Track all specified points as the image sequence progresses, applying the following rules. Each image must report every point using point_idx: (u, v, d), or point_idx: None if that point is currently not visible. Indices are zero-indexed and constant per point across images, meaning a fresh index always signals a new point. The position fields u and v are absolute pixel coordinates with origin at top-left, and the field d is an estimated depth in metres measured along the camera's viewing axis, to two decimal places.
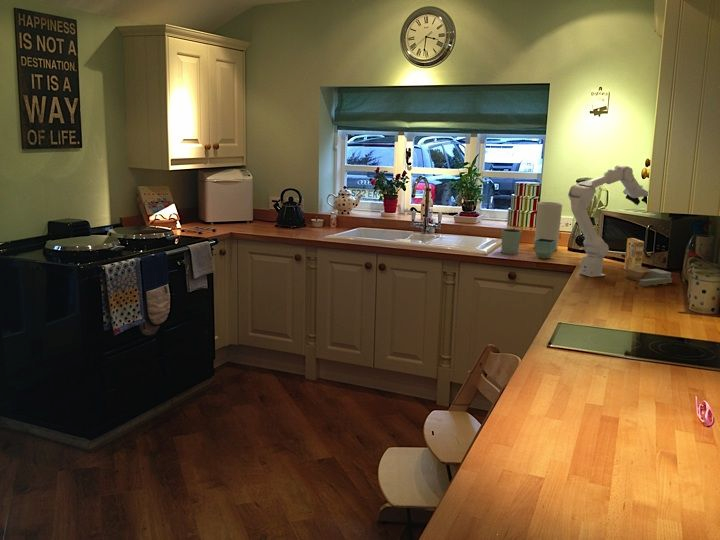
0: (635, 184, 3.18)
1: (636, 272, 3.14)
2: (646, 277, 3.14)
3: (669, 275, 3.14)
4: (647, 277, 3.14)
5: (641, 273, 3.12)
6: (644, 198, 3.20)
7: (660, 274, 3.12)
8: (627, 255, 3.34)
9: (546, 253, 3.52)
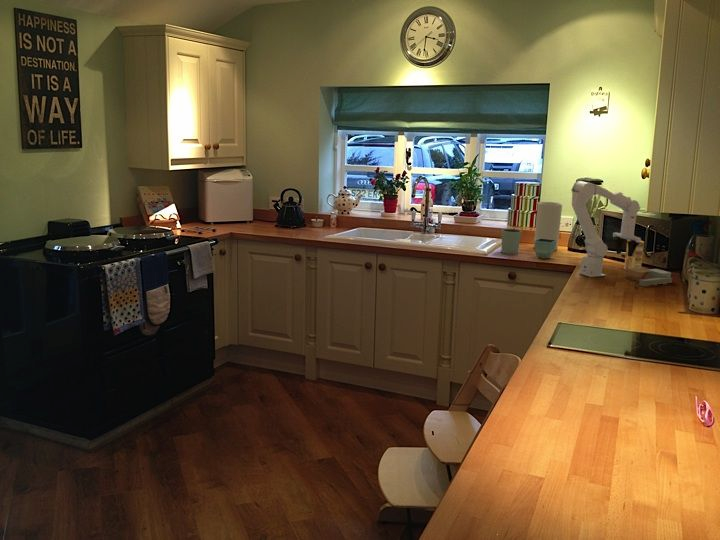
0: (631, 224, 3.17)
1: (636, 272, 3.14)
2: (646, 277, 3.14)
3: (669, 275, 3.14)
4: (647, 277, 3.14)
5: (641, 273, 3.12)
6: (631, 241, 3.17)
7: (660, 274, 3.12)
8: (627, 255, 3.34)
9: (546, 253, 3.52)
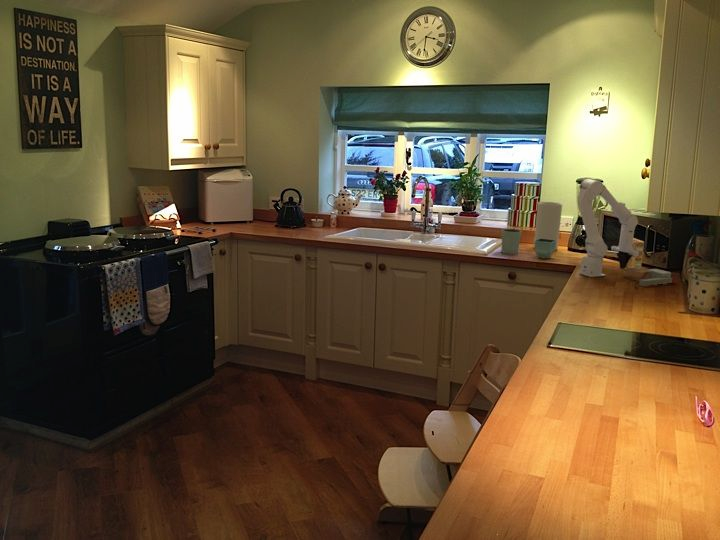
0: (630, 238, 3.18)
1: (636, 272, 3.13)
2: (646, 277, 3.14)
3: (669, 275, 3.14)
4: (647, 277, 3.14)
5: (642, 273, 3.12)
6: (624, 254, 3.21)
7: (661, 274, 3.12)
8: None
9: (546, 253, 3.52)
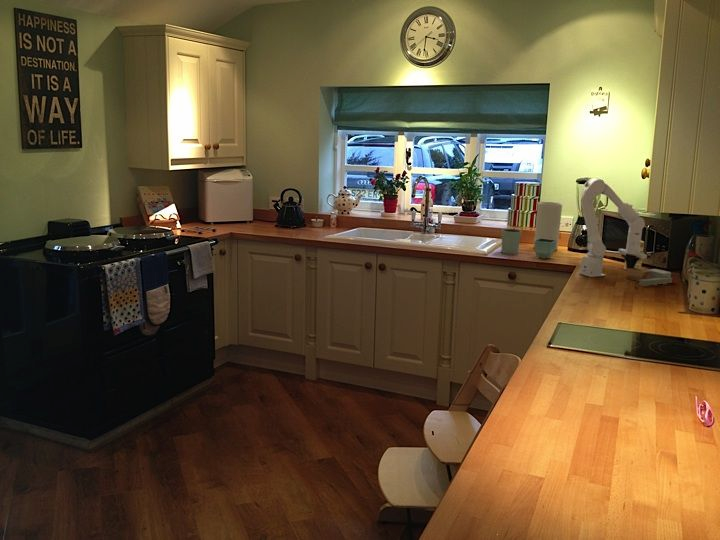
0: (636, 240, 3.15)
1: (637, 272, 3.13)
2: (647, 277, 3.14)
3: (669, 275, 3.14)
4: (648, 277, 3.14)
5: (643, 273, 3.11)
6: (631, 256, 3.17)
7: (661, 274, 3.12)
8: None
9: (546, 253, 3.52)
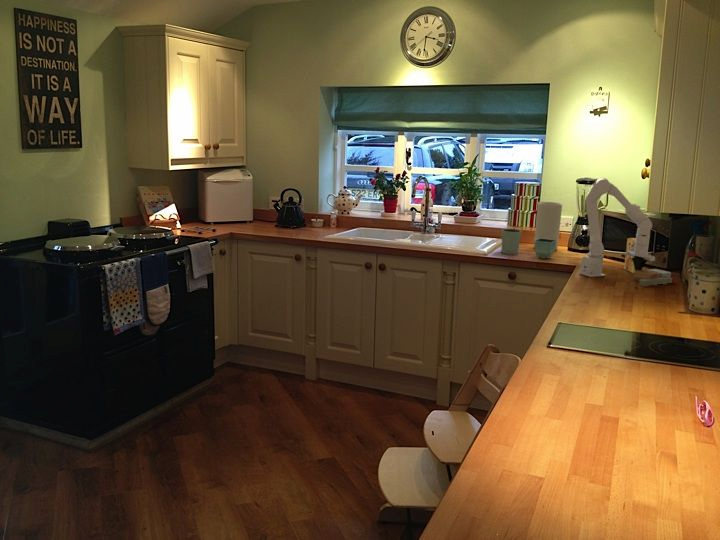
0: (642, 242, 3.11)
1: (644, 274, 3.09)
2: None
3: (669, 275, 3.14)
4: None
5: (650, 275, 3.07)
6: (639, 258, 3.14)
7: (661, 274, 3.12)
8: (627, 255, 3.34)
9: (546, 253, 3.52)
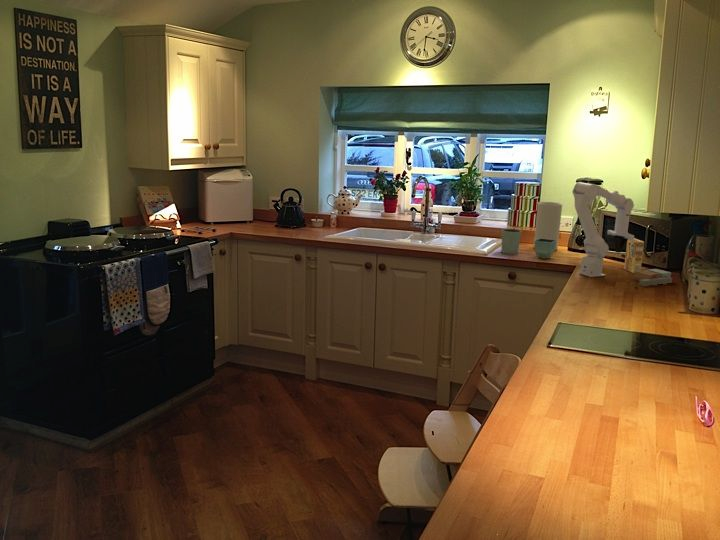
0: (627, 221, 3.20)
1: (644, 275, 3.09)
2: None
3: (669, 275, 3.14)
4: None
5: (650, 276, 3.07)
6: (619, 237, 3.23)
7: (661, 274, 3.12)
8: (627, 255, 3.34)
9: (546, 253, 3.52)
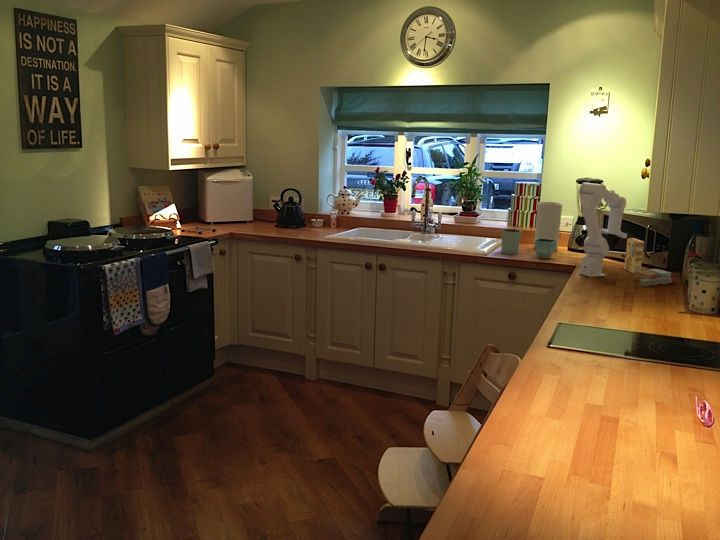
0: (620, 220, 3.24)
1: (644, 275, 3.09)
2: None
3: (669, 275, 3.14)
4: None
5: (650, 276, 3.07)
6: (612, 236, 3.26)
7: (660, 274, 3.12)
8: (627, 255, 3.34)
9: (546, 253, 3.52)
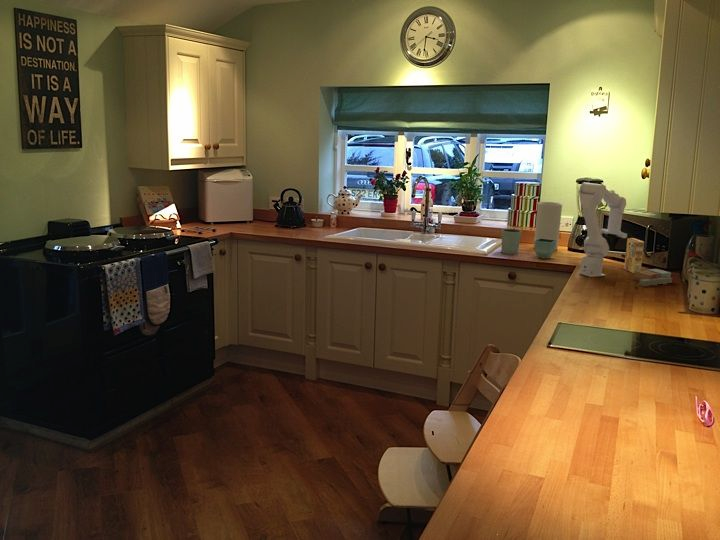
0: (620, 220, 3.24)
1: (644, 274, 3.09)
2: None
3: (669, 275, 3.14)
4: None
5: (649, 276, 3.07)
6: (612, 236, 3.26)
7: (660, 274, 3.12)
8: (627, 255, 3.34)
9: (546, 253, 3.52)
